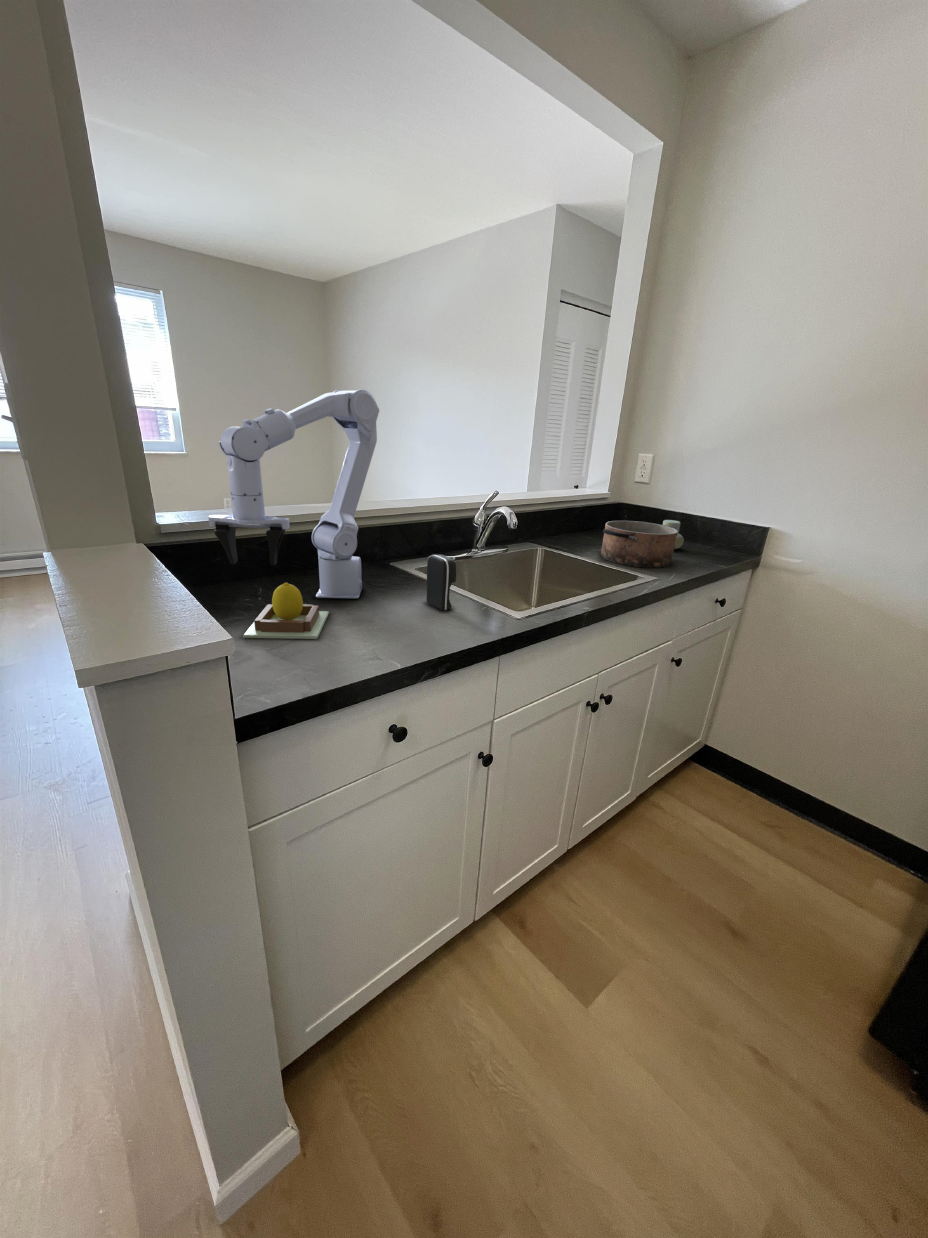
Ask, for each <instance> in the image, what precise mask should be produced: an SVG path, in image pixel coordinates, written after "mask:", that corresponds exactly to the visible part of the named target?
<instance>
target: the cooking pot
mask: <svg viewBox="0 0 928 1238" xmlns="http://www.w3.org/2000/svg"><path fill="white" fill-rule="evenodd" d="M602 532H603V538H602V545H601V550H600V555H601V557H602V558H603V559H605V560H606V561H609V562H612V563H614V564H618V565H622V566H628V567H633V568H641V569H642V568H644V569H660V568H661V569H662V568H665V567H668V566H669V565H671V564H672V561H673V556H674V551H675V550H674V547H675V542H676V537H677V532H678V531H677V530H676V528H675V527H671V526H666V525H663V524H659V523H653V522H647V521H638V520H637V521H635V520H611V521H607V522H606V523H605V525H604V529H603V531H602Z"/></svg>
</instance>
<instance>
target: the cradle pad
mask: <svg viewBox="0 0 928 1238" xmlns="http://www.w3.org/2000/svg"><path fill="white" fill-rule="evenodd" d="M329 615H330V612H329V611H327V610H326V611H324V610H320V605H314V604H309V603H308V604H307V603H303V608H302V611H301V613H300V615H299V616H298V617H297V618H295V619H293V620H283V619H280V618H279V617H278V616H277V615H276V614H275V612H274V610H273V607H272V604H269V603H268V604H267V605H266V606H265V607H264V608H263V609H262V610H261V612H260V613H259V614H258V615H257V616H256V618H255V619H254V621H253V622H252V624H251V625H250V626H249V627H248V628H247V630H246V631H245V632H244V633H243V634H242V637H243V639H286V640H288V639H291V640H292V639H293V640H295V639H298V640H318V638H319V635H320V634H321V632H322V629H323V627H324V625H325V623H326V621H327V618H328V617H329Z"/></svg>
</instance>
